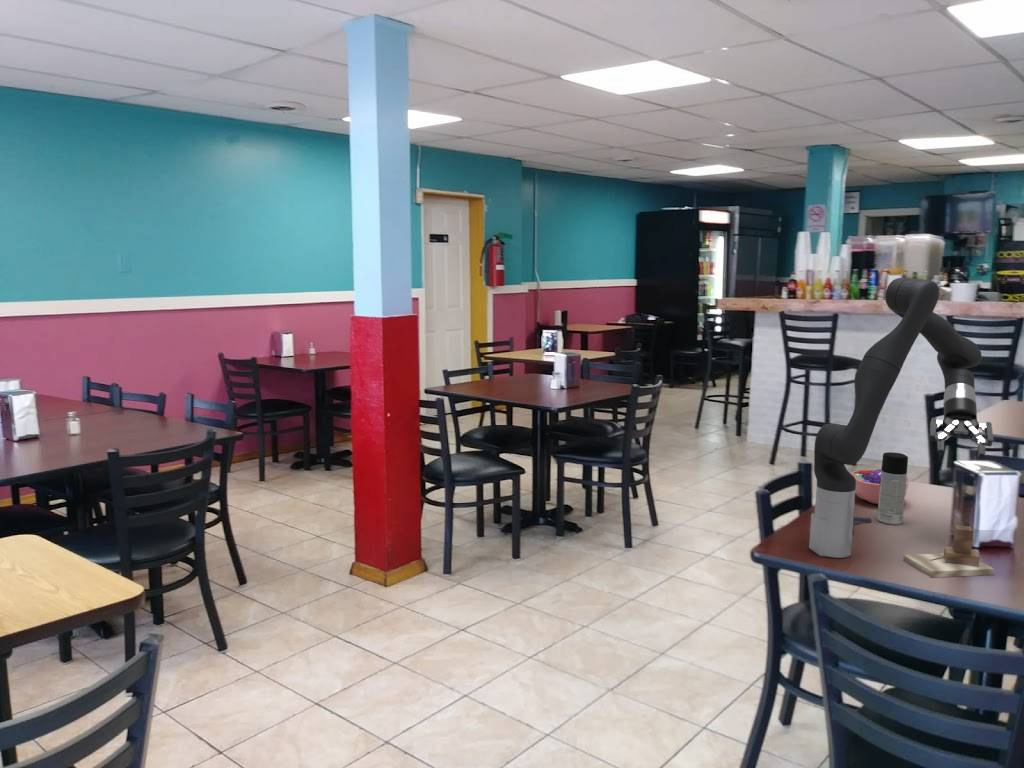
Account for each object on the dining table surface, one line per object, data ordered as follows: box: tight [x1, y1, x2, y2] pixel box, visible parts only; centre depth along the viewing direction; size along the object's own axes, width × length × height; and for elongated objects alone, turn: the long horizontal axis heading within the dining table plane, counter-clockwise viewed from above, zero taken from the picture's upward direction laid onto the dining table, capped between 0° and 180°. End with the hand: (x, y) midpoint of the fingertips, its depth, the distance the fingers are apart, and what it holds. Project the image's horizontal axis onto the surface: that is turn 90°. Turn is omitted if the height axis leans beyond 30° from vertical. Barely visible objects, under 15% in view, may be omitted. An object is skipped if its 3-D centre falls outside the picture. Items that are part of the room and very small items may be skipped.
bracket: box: [852, 516, 872, 536], centre depth 223 cm, size 14×15×3 cm
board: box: [902, 552, 995, 578], centre depth 192 cm, size 16×11×2 cm
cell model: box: [850, 468, 911, 505], centre depth 246 cm, size 17×20×11 cm
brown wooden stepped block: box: [943, 524, 980, 567], centre depth 192 cm, size 7×5×8 cm
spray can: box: [877, 451, 909, 526], centre depth 226 cm, size 7×7×20 cm
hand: (961, 455), depth 199 cm, fingers open, 8 cm apart
